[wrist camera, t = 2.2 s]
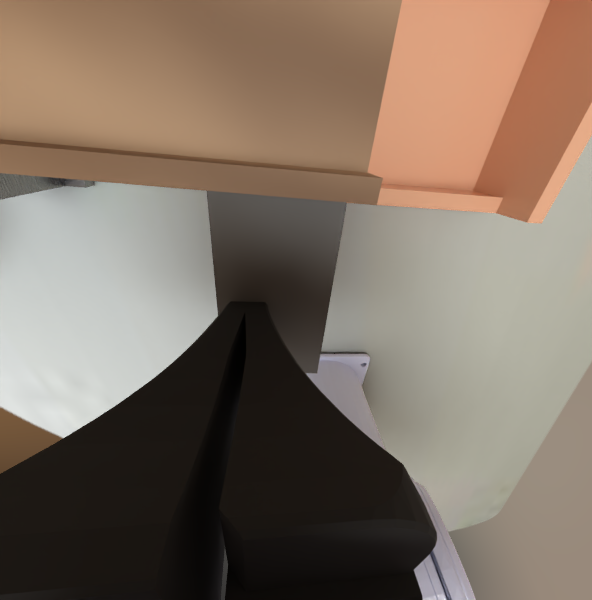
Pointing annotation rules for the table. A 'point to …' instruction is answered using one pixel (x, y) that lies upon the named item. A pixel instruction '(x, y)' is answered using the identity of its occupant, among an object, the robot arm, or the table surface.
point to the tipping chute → (212, 124)
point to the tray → (485, 105)
